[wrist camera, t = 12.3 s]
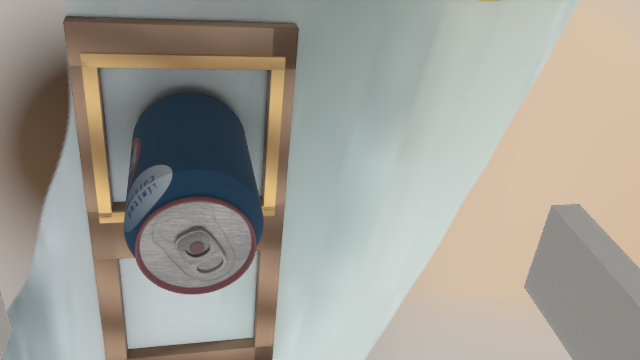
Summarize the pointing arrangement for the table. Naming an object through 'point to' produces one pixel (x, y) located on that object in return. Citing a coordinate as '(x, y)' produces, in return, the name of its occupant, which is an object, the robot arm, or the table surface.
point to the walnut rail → (105, 216)
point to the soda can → (191, 196)
